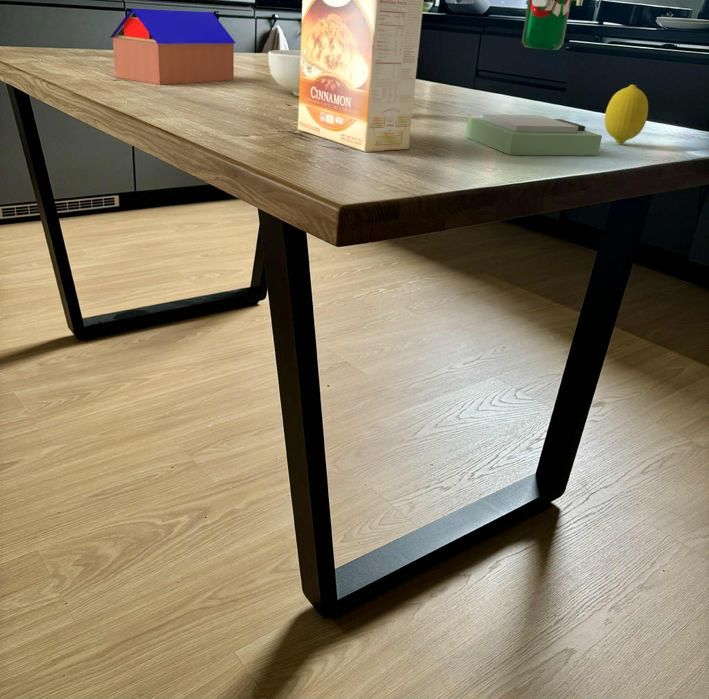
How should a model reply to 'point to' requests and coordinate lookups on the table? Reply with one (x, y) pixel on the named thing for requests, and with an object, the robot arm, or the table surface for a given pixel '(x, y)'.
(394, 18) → the coffeecake box
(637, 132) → the lemon
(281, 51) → the cereal bowl
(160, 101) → the table surface
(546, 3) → the robot arm
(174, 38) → the house
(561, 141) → the scale
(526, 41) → the soda can
